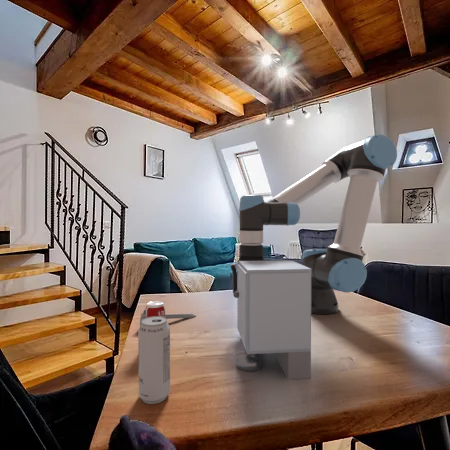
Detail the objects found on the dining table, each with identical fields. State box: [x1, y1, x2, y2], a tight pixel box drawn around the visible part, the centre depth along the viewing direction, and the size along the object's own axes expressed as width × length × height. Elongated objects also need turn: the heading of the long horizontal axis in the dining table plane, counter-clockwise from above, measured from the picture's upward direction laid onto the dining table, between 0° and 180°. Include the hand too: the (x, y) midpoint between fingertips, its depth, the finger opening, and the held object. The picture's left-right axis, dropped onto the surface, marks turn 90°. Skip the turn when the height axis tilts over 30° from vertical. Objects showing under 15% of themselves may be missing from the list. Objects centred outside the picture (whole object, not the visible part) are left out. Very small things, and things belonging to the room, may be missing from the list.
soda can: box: [144, 300, 166, 318], centre depth 77 cm, size 5×5×12 cm
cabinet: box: [233, 259, 312, 381], centre depth 67 cm, size 16×13×24 cm
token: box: [235, 349, 262, 373], centre depth 68 cm, size 6×6×2 cm
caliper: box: [139, 309, 197, 327], centre depth 96 cm, size 20×1×6 cm, turn 128°
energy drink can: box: [137, 316, 171, 405], centre depth 56 cm, size 6×6×15 cm
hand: (250, 316), depth 91 cm, fingers closed on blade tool, 4 cm apart
